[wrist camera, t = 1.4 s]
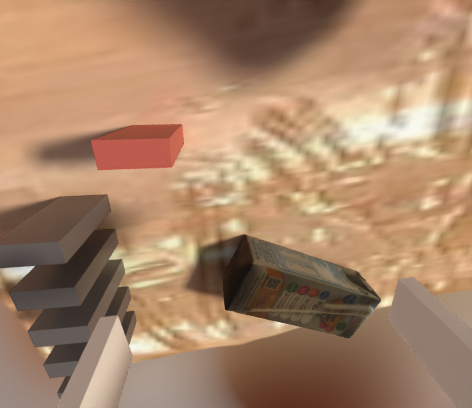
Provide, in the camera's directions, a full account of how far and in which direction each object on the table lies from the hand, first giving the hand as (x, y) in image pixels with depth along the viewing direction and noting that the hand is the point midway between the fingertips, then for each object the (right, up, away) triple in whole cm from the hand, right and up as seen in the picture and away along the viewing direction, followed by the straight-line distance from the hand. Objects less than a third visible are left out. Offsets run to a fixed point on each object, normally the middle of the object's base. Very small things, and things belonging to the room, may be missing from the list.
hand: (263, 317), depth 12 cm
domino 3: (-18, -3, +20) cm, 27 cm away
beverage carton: (+7, -5, +24) cm, 25 cm away
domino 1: (-18, +5, +16) cm, 25 cm away
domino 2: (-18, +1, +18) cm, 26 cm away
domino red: (-9, +13, +14) cm, 21 cm away
